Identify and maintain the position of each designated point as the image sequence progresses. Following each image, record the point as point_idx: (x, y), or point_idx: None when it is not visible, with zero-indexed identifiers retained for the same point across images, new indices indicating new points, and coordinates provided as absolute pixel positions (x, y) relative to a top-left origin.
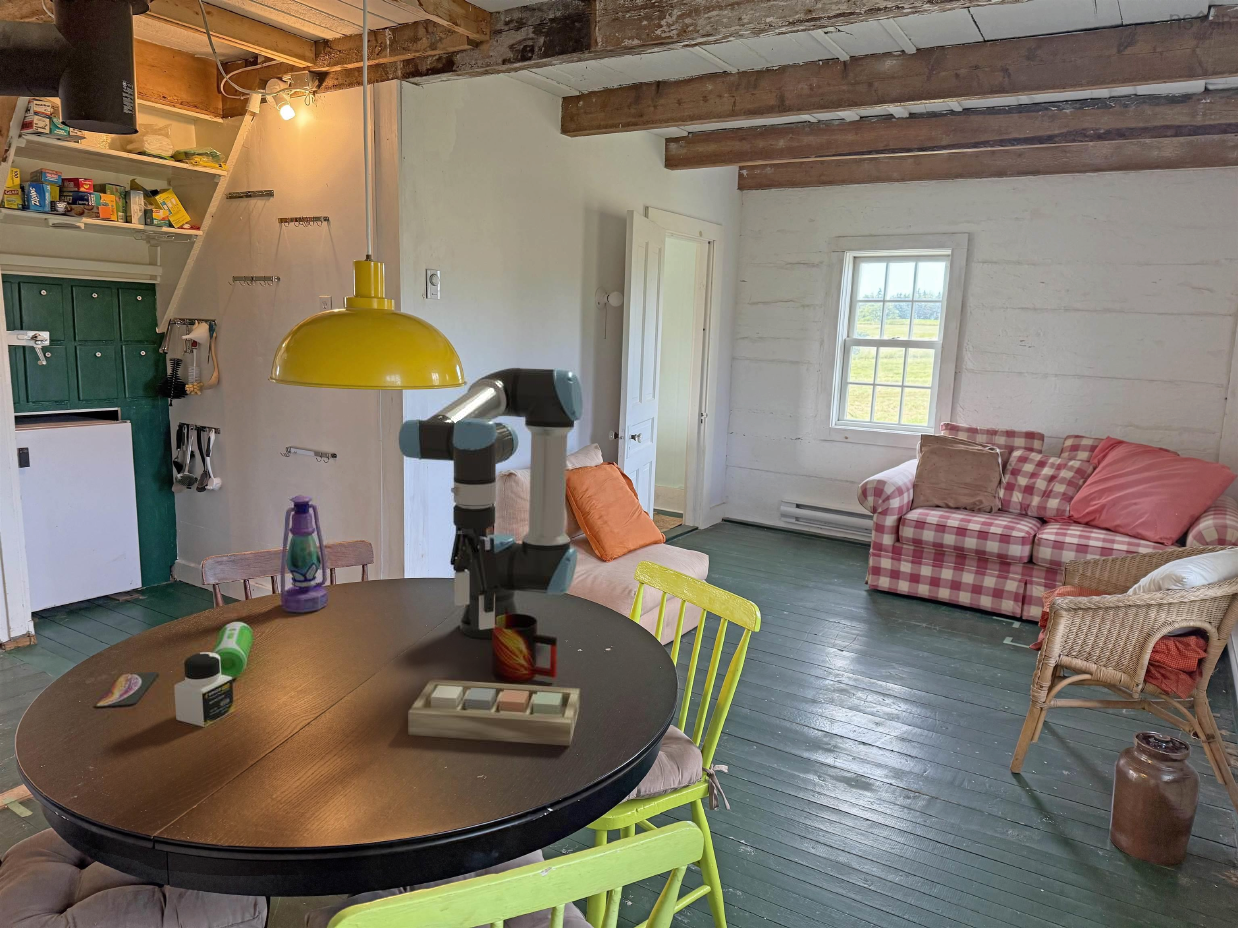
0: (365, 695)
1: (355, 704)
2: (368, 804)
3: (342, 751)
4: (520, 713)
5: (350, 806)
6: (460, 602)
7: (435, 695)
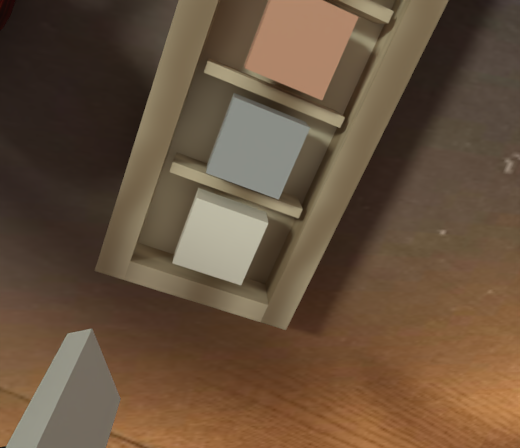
0: None
1: None
2: (508, 362)
3: (311, 406)
4: None
5: (500, 386)
6: (108, 388)
7: (236, 273)
